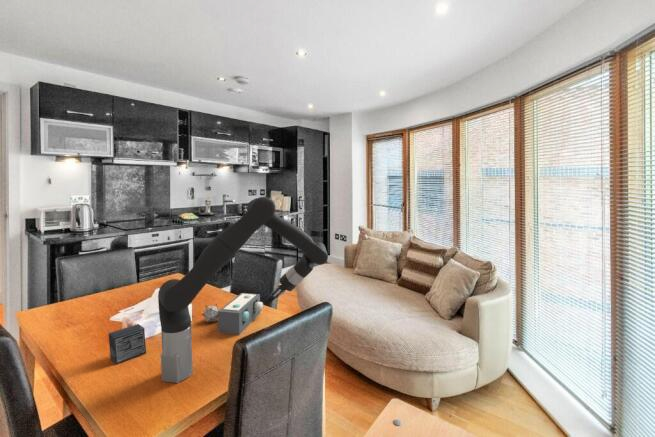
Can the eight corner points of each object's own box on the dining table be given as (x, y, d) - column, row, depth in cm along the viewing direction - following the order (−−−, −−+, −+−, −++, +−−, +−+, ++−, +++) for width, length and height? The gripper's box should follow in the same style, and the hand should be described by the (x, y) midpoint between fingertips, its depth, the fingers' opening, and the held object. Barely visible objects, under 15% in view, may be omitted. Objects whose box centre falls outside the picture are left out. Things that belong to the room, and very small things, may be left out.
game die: (213, 330, 151) (212, 319, 145) (198, 322, 152) (196, 311, 146) (224, 315, 158) (224, 304, 151) (210, 308, 159) (209, 297, 152)
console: (239, 334, 139) (239, 311, 138) (218, 332, 141) (217, 309, 140) (260, 313, 163) (259, 292, 162) (241, 311, 164) (241, 291, 163)
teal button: (245, 323, 142) (244, 313, 142) (238, 322, 143) (238, 313, 142) (249, 319, 147) (248, 309, 146) (243, 318, 147) (242, 309, 147)
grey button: (259, 312, 154) (259, 304, 153) (253, 312, 154) (253, 303, 154) (262, 309, 158) (262, 300, 158) (257, 308, 159) (257, 300, 158)
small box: (140, 347, 128) (138, 322, 126) (146, 353, 123) (145, 327, 122) (109, 358, 119) (107, 332, 118) (115, 365, 115) (113, 337, 114)
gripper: (290, 267, 145) (265, 292, 149) (282, 276, 132) (254, 302, 136) (302, 279, 145) (276, 303, 149) (294, 289, 132) (266, 315, 136)
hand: (266, 303), depth 142 cm, fingers closed
